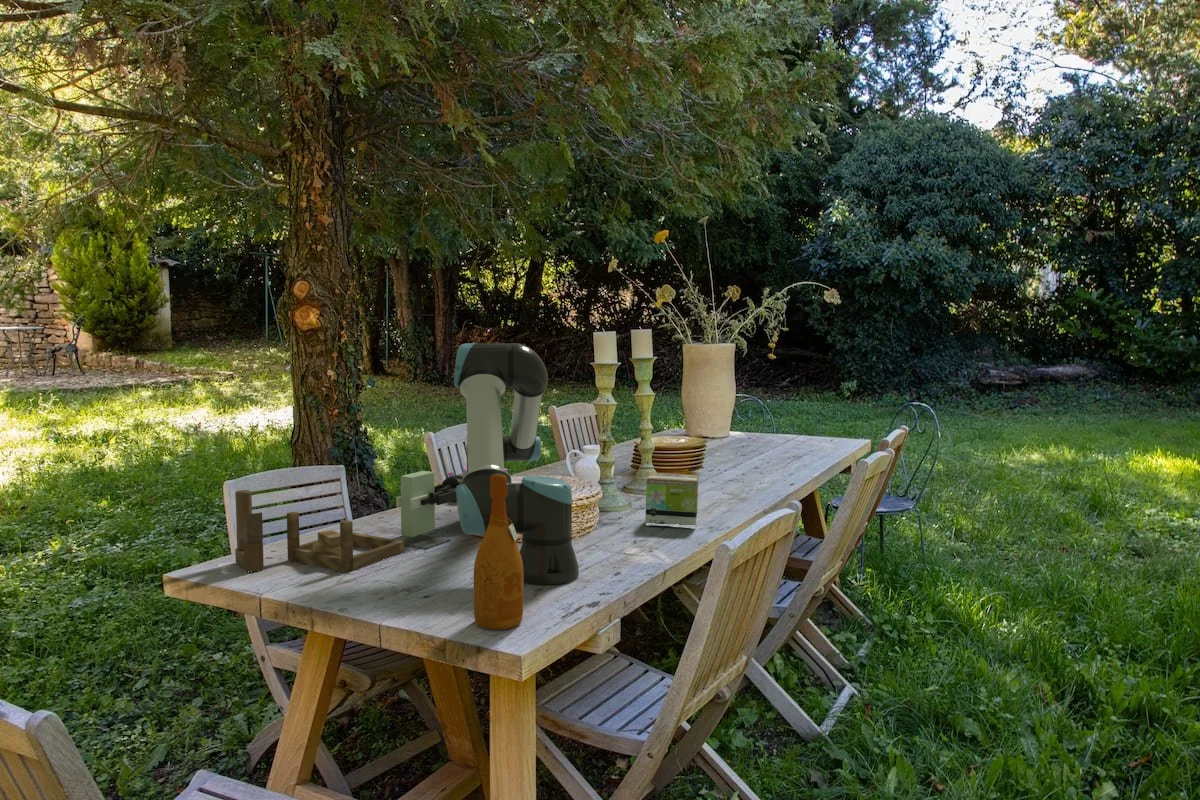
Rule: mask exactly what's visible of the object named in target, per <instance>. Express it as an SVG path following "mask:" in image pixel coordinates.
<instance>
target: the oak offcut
mask: <svg viewBox="0 0 1200 800" xmlns="http://www.w3.org/2000/svg"><path fill="white" fill-rule="evenodd" d="M313 551H316V552H321V553H326V554H331V555H336V556H341V549H340V547H335V548H328V547H326V546H324V545H322V544H320V543H318V542H317V543H315V544H313Z"/></svg>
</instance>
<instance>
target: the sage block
mask: <svg viewBox="0 0 1200 800" xmlns="http://www.w3.org/2000/svg"><path fill="white" fill-rule="evenodd" d="M434 486H435V471H427V470H420V471H417V472H413V473H408V474H405V475H404V474H403V475H401V476H400V496H401V507H400V525H401V526H400V531H401V532H400V534H401V535H400V536H402V535H405V536H410V537H414V536H417V535H420V534H421V535H424V534H426V533H428V532H432V531H434V530H436V522H435V520H436V518H435V517H436V515H435V512H436V510H435V509H436V508H435V504H436V503H435V504H433V505H430V504H428V505H426V506H423V507H420V508H416V509H413V510H411V509H410V499H413V498H416V497H420V496H424V495H428V497H429V493H435V488H434Z"/></svg>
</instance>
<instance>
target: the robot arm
mask: <svg viewBox="0 0 1200 800" xmlns="http://www.w3.org/2000/svg"><path fill="white" fill-rule="evenodd" d="M453 377H454V378H453V379H454V380H453V381H454V382H453V383H454V387H455V388H457V389H459V391H460V394H461V395H462V396H463V397H464V398H465V401H466V407H465V408H466V431H467V432H466V434H467V435H466V446H465V447H466V466H467V473H460V474H459V473H458V474H456V475H455V476H452V477H449V476H448V477H446V478H445V479H444V480H443V481H442V483H441V484H436V485H434V488H435V493H429V497H428V495H424V496H420V497H416V498H413V499H410V509H411V510H413V509H416V508H420V507H423V506H426V505H428V504H430V505H433V504H436V506H440V505H445V504H447V503H450V504H451V503H452V504H455V503H456V504H457V507H456V508H457V514H458V519H459V525H460V528H461V531H462V532H463V533H464V534H466V535H470V536H471V535H472V536H481V537H484V535H485V533H486V530H487V528H488V525H489V522H490V516H491V507H492V498H491V497H490V477H491V476H492V475H494V474H504V475H505V476H506V477H507V491H508V496H507V497H506V498H505V505H506V515H507V518H508V519H507V520H508V524H509V525H511V524H513V525H514V528H515V531H516V534H521V536H522V537H521V542H522V543H521V546H520V549H519V551H520V554H521V558H522V562H523V573H524V583H526V584H532V585H542V586H543V585H544V586H546V585H547V586H549V585H550V586H551V585H560V584H565V583H569V582H572V581H574V580H576V579H577V578H578V577H579V573H580V572H579V571H580V569H579V567H580V566H579V563H578V560H577V557H576V553H575V549H574V547H573V543H572V541H573V540H572V535H573V534H572V532H573V531H572V529H573V528H572V519H573V517H572V512H573V510H572V508H573V506H572V505H573V502H574V501H573V497H572V496H573V495H572V487H571V485H570V484H569V483H568V482H567V481H566V480H563V479H561V478H556V477H552V476H546V475H545V476H544V475H525V476H523V477H522V480H521V482H518V483H516V482H515V483H513V482H512V477H511V474H510V473H509V472H508V473H507V472H505V471H504V469H505V462H529V461H531V462H532V461H538V460H540V458H541V456H542V442H541V441H542V440H541V438H540V436H538V435H537V431H538V425H539V424H538V423H539V418H540V411H541V409H540V408H541V404H542V396H543V394H544V393H545V392H546V391H547V388H548V381H549V376H548V370H547V368H546V365H545V363H544V361H543V360H542V358H541V357H540V356H539V355H538V353H537V352H536V351H535V350H533V349H531V347H529V346H527V345H526V344H525V345H524V344H521V343H515V342H511V343H506V342H504V343H503V342H496V343H495V342H493V343H492V342H489V343H487V342H485V343H484V342H483V343H481V342H479V343H478V342H473V343H472V342H471V343H470V342H469V343H462V344H461V345H459V346H458V348H457V351H456V356H455V368H454V376H453ZM506 388H512V389H513V391H514V395H513V396H514V397H513V406H512V407H513V408H512V415H511V417H512V418H511V426H510V436H508V435H507V436H506V435H505V436H503V425H502V407H501V397H502V396H503V395H504V394H505V392H506ZM395 501H396V502H395V505H396V508H401V495H400V496H396V500H395ZM510 520H511V521H510ZM511 522H512V523H511Z"/></svg>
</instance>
